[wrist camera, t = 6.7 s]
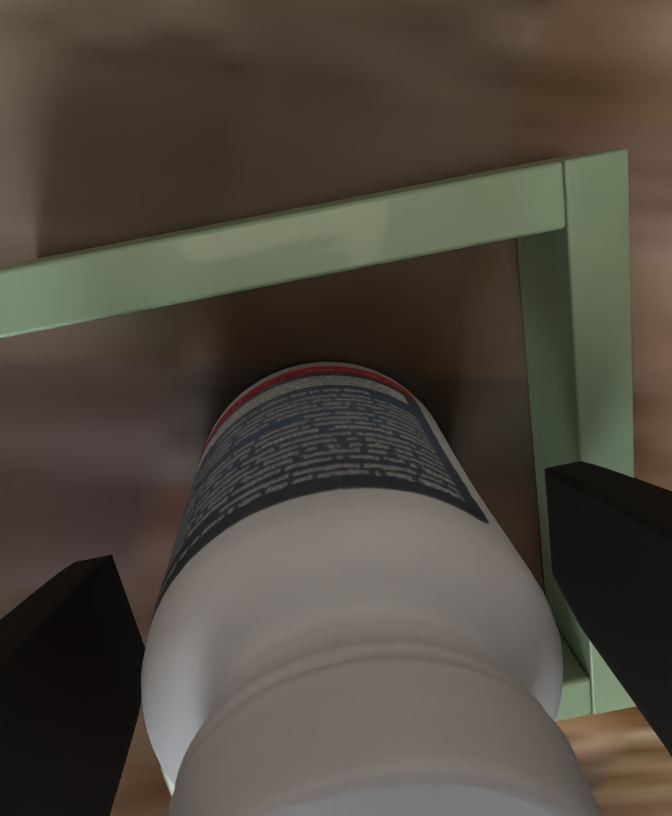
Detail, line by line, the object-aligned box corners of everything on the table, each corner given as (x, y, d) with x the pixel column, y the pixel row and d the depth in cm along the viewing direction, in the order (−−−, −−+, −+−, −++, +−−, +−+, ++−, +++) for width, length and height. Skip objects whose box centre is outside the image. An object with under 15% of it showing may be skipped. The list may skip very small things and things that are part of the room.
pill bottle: (149, 456, 13) (-103, 944, 5) (351, 305, 12) (492, 553, 4) (304, 619, 15) (326, 1198, 6) (489, 494, 14) (802, 958, 5)
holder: (188, 711, 15) (171, 802, 13) (33, 258, 11) (-28, 275, 9) (587, 630, 15) (640, 706, 13) (562, 156, 12) (629, 147, 9)
